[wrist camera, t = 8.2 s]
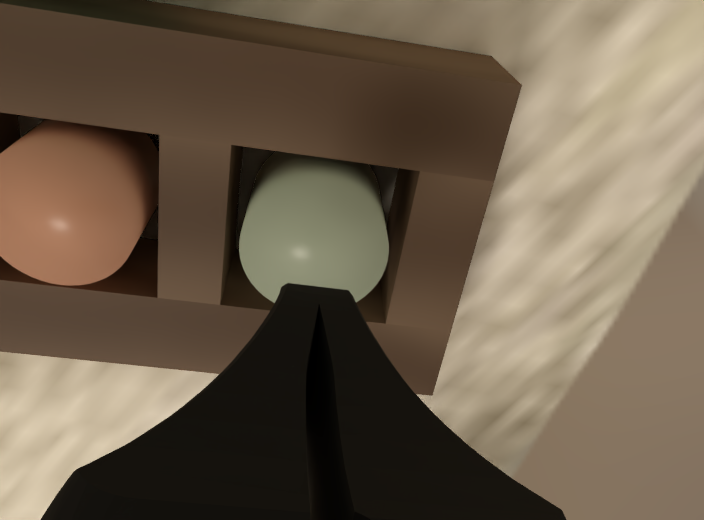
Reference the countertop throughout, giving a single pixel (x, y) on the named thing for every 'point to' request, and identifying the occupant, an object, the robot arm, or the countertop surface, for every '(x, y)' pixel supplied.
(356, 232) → the sage button
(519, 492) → the robot arm
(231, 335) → the button panel
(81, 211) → the terracotta button
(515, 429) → the countertop surface
